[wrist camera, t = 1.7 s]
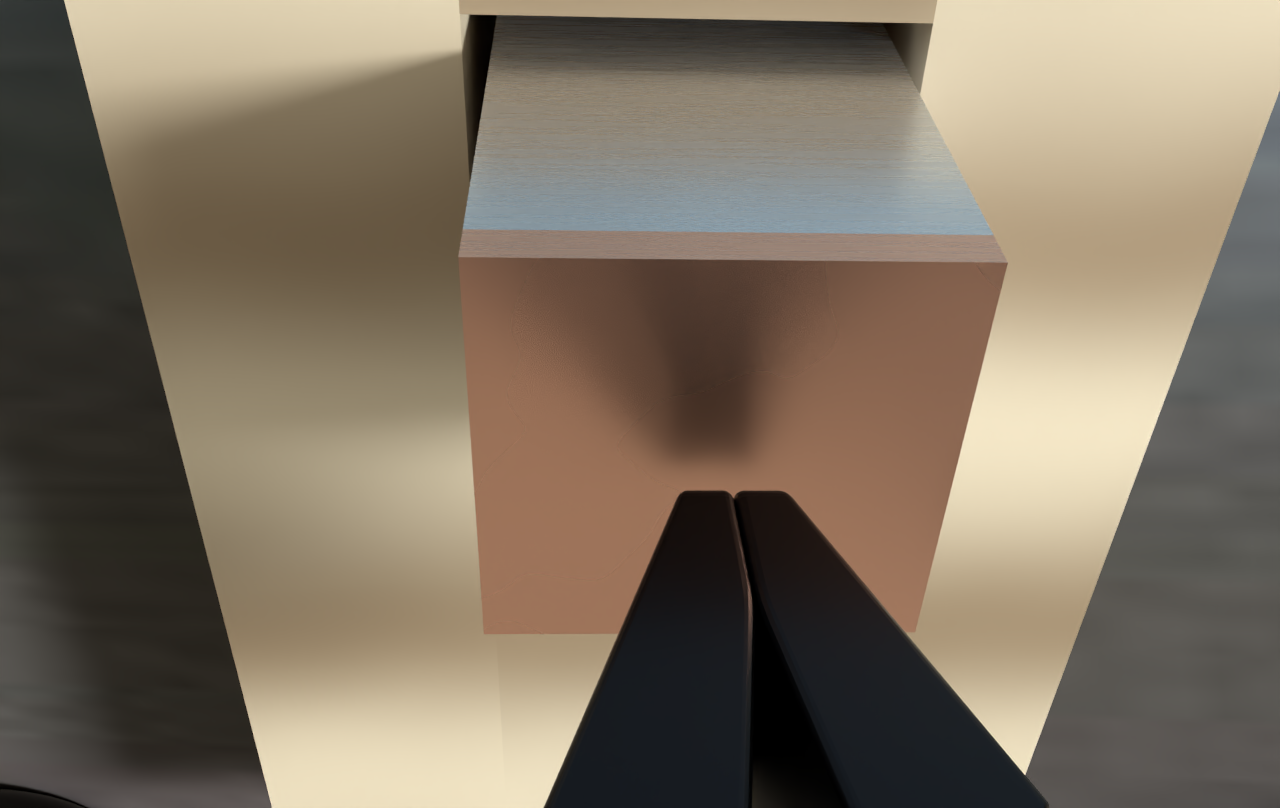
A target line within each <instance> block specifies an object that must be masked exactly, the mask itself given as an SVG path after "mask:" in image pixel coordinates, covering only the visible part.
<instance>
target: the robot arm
mask: <svg viewBox="0 0 1280 808" xmlns="http://www.w3.org/2000/svg"><path fill="white" fill-rule="evenodd" d="M544 808H1049V804H1048V802H1047V801H1046V800H1045V798H1044V797H1043V796H1042V795H1041V794H1040V792H1039V791H1038V790H1037V789H1036V788H1035V786H1034V785H1033V784H1032V783H1031V782H1030V781H1029V779H1028V778H1027V777H1026V776H1025V775H1024V773H1023V772H1022V771H1021V770H1020V769H1019V767H1018V766H1017V765H1016V764H1015V763H1014V761H1013V760H1012V759H1011V758H1010V757H1009V755H1008V754H1007V753H1006V752H1005V751H1004V749H1003V748H1002V747H1001V746H1000V745H999V743H998V742H997V741H996V740H995V739H994V738H993V736H992V735H991V734H990V733H989V732H988V730H987V729H986V728H985V727H984V726H983V724H982V723H981V722H980V721H979V720H978V718H977V717H976V716H975V715H974V714H973V712H972V711H971V710H970V709H969V708H968V706H967V705H966V704H965V703H964V702H963V701H962V699H961V698H960V697H959V696H958V695H957V693H956V692H955V691H954V690H953V689H952V687H951V686H950V685H949V684H948V683H947V681H946V680H945V679H944V678H943V677H942V675H941V674H940V673H939V672H938V671H937V669H936V668H935V667H934V666H933V665H932V664H931V662H930V661H929V660H928V659H927V658H926V656H925V655H924V654H923V653H922V652H921V650H920V649H919V648H918V647H917V646H916V644H915V643H914V642H913V641H912V640H911V638H910V637H909V636H908V635H907V634H906V632H905V631H904V630H903V629H902V628H901V627H900V625H899V624H898V623H897V622H896V621H895V619H894V618H893V617H892V616H891V615H890V613H889V612H888V611H887V610H886V609H885V607H884V606H883V605H882V604H881V603H880V601H879V600H878V599H877V598H876V597H875V595H874V594H873V593H872V592H871V591H870V590H869V588H868V587H867V586H866V585H865V584H864V582H863V581H862V580H861V579H860V578H859V576H858V575H857V574H856V573H855V572H854V570H853V569H852V568H851V567H850V566H849V564H848V563H847V562H846V561H845V560H844V558H843V557H842V556H841V555H840V554H839V553H838V551H837V550H836V549H835V548H834V547H833V545H832V544H831V543H830V542H829V541H828V539H827V538H826V537H825V536H824V535H823V533H822V532H821V531H820V530H819V529H818V527H817V526H816V525H815V524H814V523H813V521H812V520H811V519H810V518H809V517H808V516H807V514H806V513H805V512H804V511H803V510H802V508H801V507H800V506H799V505H798V504H797V502H796V501H795V500H794V499H793V498H792V497H791V496H790V495H789V494H788V493H786V492H784V491H740V492H738V493H737V494H736V495H735V496H734V498H733V497H732V495H731V494H730V493H729V492H727V491H723V490H687V491H683V492H682V493H680V494H679V496H678V497H677V499H676V501H675V503H674V506H673V508H672V510H671V513H670V515H669V517H668V520H667V522H666V524H665V527H664V529H663V531H662V534H661V536H660V538H659V540H658V543H657V545H656V547H655V550H654V552H653V554H652V557H651V559H650V561H649V564H648V566H647V568H646V571H645V573H644V575H643V578H642V580H641V582H640V585H639V587H638V589H637V592H636V594H635V596H634V599H633V601H632V603H631V606H630V608H629V610H628V613H627V615H626V617H625V620H624V622H623V624H622V627H621V629H620V631H619V634H618V636H617V638H616V641H615V643H614V645H613V647H612V650H611V652H610V654H609V657H608V659H607V661H606V664H605V666H604V668H603V671H602V673H601V675H600V678H599V680H598V682H597V685H596V687H595V689H594V692H593V694H592V696H591V699H590V701H589V703H588V706H587V708H586V710H585V713H584V715H583V717H582V720H581V722H580V724H579V727H578V729H577V731H576V734H575V736H574V738H573V741H572V743H571V745H570V748H569V750H568V752H567V754H566V757H565V759H564V761H563V764H562V766H561V768H560V771H559V773H558V775H557V778H556V780H555V782H554V785H553V787H552V789H551V792H550V794H549V796H548V799H547V801H546V803H545V806H544Z"/></svg>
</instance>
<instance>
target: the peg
mask: <svg viewBox="0 0 1280 808" xmlns="http://www.w3.org/2000/svg"><path fill="white" fill-rule="evenodd" d="M458 261H459V275H460V290H461V305H462V320H463V334H464V349H465V364H466V379H467V393H468V408H469V423H470V438H471V452H472V467H473V482H474V496H475V511H476V526H477V541H478V555H479V570H480V585H481V600H482V614H483V629H484V634H619V631H620V629H621V627H622V624H623V622H624V620H625V617H626V615H627V613H628V610H629V608H630V606H631V603H632V601H633V599H634V596H635V594H636V592H637V589H638V587H639V585H640V582H641V580H642V578H643V575H644V573H645V571H646V568H647V566H648V564H649V561H650V559H651V557H652V554H653V552H654V550H655V547H656V545H657V543H658V540H659V538H660V536H661V534H662V531H663V529H664V527H665V524H666V522H667V520H668V517H669V515H670V513H671V510H672V508H673V506H674V503H675V501H676V499H677V497H678V496H679V494H680V493H682V492H683V491H687V490H723V491H727V492H729V493H730V494H731V495H732V497H733V498H734V496H735V495H736V494H737V493H738V492H740V491H784V492H786V493H788V494H789V495H790V496H791V497H792V498H793V499H794V500H795V501H796V502H797V504H798V505H799V506H800V507H801V508H802V510H803V511H804V512H805V513H806V514H807V516H808V517H809V518H810V519H811V520H812V521H813V523H814V524H815V525H816V526H817V527H818V529H819V530H820V531H821V532H822V533H823V535H824V536H825V537H826V538H827V539H828V541H829V542H830V543H831V544H832V545H833V547H834V548H835V549H836V550H837V551H838V553H839V554H840V555H841V556H842V557H843V558H844V560H845V561H846V562H847V563H848V564H849V566H850V567H851V568H852V569H853V570H854V572H855V573H856V574H857V575H858V576H859V578H860V579H861V580H862V581H863V582H864V584H865V585H866V586H867V587H868V588H869V590H870V591H871V592H872V593H873V594H874V595H875V597H876V598H877V599H878V600H879V601H880V603H881V604H882V605H883V606H884V607H885V609H886V610H887V611H888V612H889V613H890V615H891V616H892V617H893V618H894V619H895V621H896V622H897V623H898V624H899V625H900V627H901V628H902V629H903V630H904V631H905V632H915V631H916V627H917V623H918V619H919V615H920V611H921V607H922V603H923V599H924V595H925V591H926V587H927V583H928V579H929V575H930V571H931V567H932V563H933V559H934V555H935V551H936V547H937V543H938V539H939V535H940V531H941V527H942V523H943V519H944V515H945V511H946V507H947V503H948V499H949V495H950V492H951V488H952V484H953V480H954V476H955V472H956V468H957V464H958V460H959V456H960V452H961V448H962V444H963V440H964V436H965V432H966V428H967V424H968V420H969V416H970V412H971V408H972V404H973V400H974V396H975V392H976V388H977V384H978V380H979V376H980V372H981V368H982V364H983V360H984V356H985V352H986V348H987V344H988V340H989V336H990V332H991V328H992V324H993V320H994V316H995V312H996V308H997V304H998V300H999V296H1000V292H1001V288H1002V284H1003V281H1004V277H1005V273H1006V269H1007V265H1008V262H1007V260H1006V258H1005V256H1004V254H1003V252H1002V250H1001V248H1000V246H999V244H998V243H997V241H996V239H995V237H994V235H993V233H992V231H991V229H990V227H989V225H988V224H987V222H986V220H985V218H984V216H983V214H982V212H981V210H980V208H979V206H978V204H977V203H976V201H975V199H974V197H973V195H972V193H971V191H970V189H969V187H968V185H967V183H966V182H965V180H964V178H963V176H962V174H961V172H960V170H959V168H958V166H957V164H956V162H955V161H954V159H953V157H952V155H951V153H950V151H949V149H948V147H947V145H946V143H945V141H944V140H943V138H942V136H941V134H940V132H939V130H938V128H937V126H936V124H935V122H934V121H933V119H932V117H931V115H930V113H929V111H928V109H927V107H926V105H925V103H924V101H923V100H922V98H921V96H920V94H919V92H918V90H917V88H916V86H915V84H914V82H913V80H912V79H911V77H910V75H909V73H908V71H907V69H906V67H905V65H904V63H903V61H902V59H901V58H900V56H899V54H898V52H897V50H896V48H895V46H894V44H893V42H892V40H891V39H890V37H889V35H888V33H887V31H886V29H885V27H884V25H883V23H882V22H834V21H782V20H730V19H678V18H627V17H575V16H523V15H497V19H496V25H495V32H494V38H493V44H492V50H491V57H490V63H489V69H488V75H487V81H486V88H485V94H484V100H483V106H482V113H481V119H480V125H479V131H478V137H477V144H476V150H475V156H474V162H473V169H472V175H471V181H470V187H469V193H468V200H467V206H466V212H465V218H464V225H463V231H462V237H461V243H460V249H459V256H458Z"/></svg>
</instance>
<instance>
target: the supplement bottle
mask: <svg viewBox="0 0 1280 808" xmlns="http://www.w3.org/2000/svg"><path fill="white" fill-rule="evenodd" d="M0 808H84V807H82V806H79V805H76V804H74V803H71V802H68V801H65V800H62V799H58V798H55V797H51V796H47V795H43V794H38V793H33V792H27V791H20V790H12V789H0Z"/></svg>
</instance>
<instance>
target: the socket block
mask: <svg viewBox="0 0 1280 808" xmlns="http://www.w3.org/2000/svg"><path fill="white" fill-rule="evenodd" d="M64 2H65V6H66V10H67V13H68V17H69V21H70V25H71V29H72V33H73V37H74V41H75V45H76V48H77V52H78V56H79V60H80V64H81V68H82V72H83V76H84V79H85V83H86V87H87V91H88V95H89V99H90V103H91V107H92V110H93V114H94V118H95V122H96V126H97V130H98V134H99V138H100V142H101V145H102V149H103V153H104V157H105V161H106V165H107V169H108V173H109V176H110V180H111V184H112V188H113V192H114V196H115V200H116V204H117V207H118V211H119V215H120V219H121V223H122V227H123V231H124V235H125V239H126V242H127V246H128V250H129V254H130V258H131V262H132V266H133V270H134V273H135V277H136V281H137V285H138V289H139V293H140V297H141V301H142V304H143V308H144V312H145V316H146V320H147V324H148V328H149V332H150V336H151V339H152V343H153V347H154V351H155V355H156V359H157V363H158V367H159V370H160V374H161V378H162V382H163V386H164V390H165V394H166V398H167V402H168V405H169V409H170V413H171V417H172V421H173V425H174V429H175V433H176V436H177V440H178V444H179V448H180V452H181V456H182V460H183V464H184V467H185V471H186V475H187V479H188V483H189V487H190V491H191V495H192V499H193V502H194V506H195V510H196V514H197V518H198V522H199V526H200V530H201V533H202V537H203V541H204V545H205V549H206V553H207V557H208V561H209V564H210V568H211V572H212V576H213V580H214V584H215V588H216V592H217V596H218V599H219V603H220V607H221V611H222V615H223V619H224V623H225V627H226V630H227V634H228V638H229V642H230V646H231V650H232V654H233V658H234V661H235V665H236V669H237V673H238V677H239V681H240V685H241V689H242V693H243V696H244V700H245V704H246V708H247V712H248V716H249V720H250V724H251V727H252V731H253V735H254V739H255V743H256V747H257V751H258V755H259V759H260V762H261V766H262V770H263V774H264V778H265V782H266V786H267V790H268V793H269V797H270V801H271V805H272V808H544V806H545V803H546V801H547V799H548V796H549V794H550V792H551V789H552V787H553V785H554V782H555V780H556V778H557V775H558V773H559V771H560V768H561V766H562V764H563V761H564V759H565V757H566V754H567V752H568V750H569V748H570V745H571V743H572V741H573V738H574V736H575V734H576V731H577V729H578V727H579V724H580V722H581V720H582V717H583V715H584V713H585V710H586V708H587V706H588V703H589V701H590V699H591V696H592V694H593V692H594V689H595V687H596V685H597V682H598V680H599V678H600V675H601V673H602V671H603V668H604V666H605V664H606V661H607V659H608V657H609V654H610V652H611V650H612V647H613V645H614V643H615V641H616V638H617V636H618V634H484V629H483V614H482V600H481V585H480V570H479V555H478V541H477V526H476V511H475V496H474V482H473V467H472V452H471V438H470V423H469V408H468V393H467V379H466V364H465V349H464V334H463V320H462V305H461V290H460V275H459V261H458V256H459V249H460V243H461V237H462V231H463V225H464V218H465V212H466V206H467V200H468V193H469V187H470V181H471V175H472V169H473V162H474V156H475V150H476V144H477V137H478V131H479V125H480V119H481V113H482V106H483V100H484V94H485V88H486V81H487V75H488V69H489V63H490V57H491V50H492V44H493V38H494V32H495V25H496V19H497V15H523V16H575V17H627V18H678V19H730V20H782V21H834V22H882V23H883V25H884V27H885V29H886V31H887V33H888V35H889V37H890V39H891V40H892V42H893V44H894V46H895V48H896V50H897V52H898V54H899V56H900V58H901V59H902V61H903V63H904V65H905V67H906V69H907V71H908V73H909V75H910V77H911V79H912V80H913V82H914V84H915V86H916V88H917V90H918V92H919V94H920V96H921V98H922V100H923V101H924V103H925V105H926V107H927V109H928V111H929V113H930V115H931V117H932V119H933V121H934V122H935V124H936V126H937V128H938V130H939V132H940V134H941V136H942V138H943V140H944V141H945V143H946V145H947V147H948V149H949V151H950V153H951V155H952V157H953V159H954V161H955V162H956V164H957V166H958V168H959V170H960V172H961V174H962V176H963V178H964V180H965V182H966V183H967V185H968V187H969V189H970V191H971V193H972V195H973V197H974V199H975V201H976V203H977V204H978V206H979V208H980V210H981V212H982V214H983V216H984V218H985V220H986V222H987V224H988V225H989V227H990V229H991V231H992V233H993V235H994V237H995V239H996V241H997V243H998V244H999V246H1000V248H1001V250H1002V252H1003V254H1004V256H1005V258H1006V260H1007V262H1008V265H1007V269H1006V273H1005V277H1004V281H1003V284H1002V288H1001V292H1000V296H999V300H998V304H997V308H996V312H995V316H994V320H993V324H992V328H991V332H990V336H989V340H988V344H987V348H986V352H985V356H984V360H983V364H982V368H981V372H980V376H979V380H978V384H977V388H976V392H975V396H974V400H973V404H972V408H971V412H970V416H969V420H968V424H967V428H966V432H965V436H964V440H963V444H962V448H961V452H960V456H959V460H958V464H957V468H956V472H955V476H954V480H953V484H952V488H951V492H950V495H949V499H948V503H947V507H946V511H945V515H944V519H943V523H942V527H941V531H940V535H939V539H938V543H937V547H936V551H935V555H934V559H933V563H932V567H931V571H930V575H929V579H928V583H927V587H926V591H925V595H924V599H923V603H922V607H921V611H920V615H919V619H918V623H917V627H916V631H915V632H906V634H907V635H908V636H909V637H910V638H911V640H912V641H913V642H914V643H915V644H916V646H917V647H918V648H919V649H920V650H921V652H922V653H923V654H924V655H925V656H926V658H927V659H928V660H929V661H930V662H931V664H932V665H933V666H934V667H935V668H936V669H937V671H938V672H939V673H940V674H941V675H942V677H943V678H944V679H945V680H946V681H947V683H948V684H949V685H950V686H951V687H952V689H953V690H954V691H955V692H956V693H957V695H958V696H959V697H960V698H961V699H962V701H963V702H964V703H965V704H966V705H967V706H968V708H969V709H970V710H971V711H972V712H973V714H974V715H975V716H976V717H977V718H978V720H979V721H980V722H981V723H982V724H983V726H984V727H985V728H986V729H987V730H988V732H989V733H990V734H991V735H992V736H993V738H994V739H995V740H996V741H997V742H998V743H999V745H1000V746H1001V747H1002V748H1003V749H1004V751H1005V752H1006V753H1007V754H1008V755H1009V757H1010V758H1011V759H1012V760H1013V761H1014V763H1015V764H1016V765H1017V766H1018V767H1019V769H1020V770H1021V771H1022V772H1023V773H1024V775H1025V774H1026V771H1027V768H1028V766H1029V763H1030V760H1031V758H1032V755H1033V752H1034V750H1035V747H1036V744H1037V742H1038V739H1039V736H1040V734H1041V731H1042V728H1043V725H1044V723H1045V720H1046V717H1047V715H1048V712H1049V709H1050V707H1051V704H1052V701H1053V699H1054V696H1055V693H1056V690H1057V688H1058V685H1059V682H1060V680H1061V677H1062V674H1063V672H1064V669H1065V666H1066V664H1067V661H1068V658H1069V655H1070V653H1071V650H1072V647H1073V645H1074V642H1075V639H1076V637H1077V634H1078V631H1079V629H1080V626H1081V623H1082V621H1083V618H1084V615H1085V612H1086V610H1087V607H1088V604H1089V602H1090V599H1091V596H1092V594H1093V591H1094V588H1095V586H1096V583H1097V580H1098V577H1099V575H1100V572H1101V569H1102V567H1103V564H1104V561H1105V559H1106V556H1107V553H1108V551H1109V548H1110V545H1111V543H1112V540H1113V537H1114V534H1115V532H1116V529H1117V526H1118V524H1119V521H1120V518H1121V516H1122V513H1123V510H1124V508H1125V505H1126V502H1127V499H1128V497H1129V494H1130V491H1131V489H1132V486H1133V483H1134V481H1135V478H1136V475H1137V473H1138V470H1139V467H1140V465H1141V462H1142V459H1143V456H1144V454H1145V451H1146V448H1147V446H1148V443H1149V440H1150V438H1151V435H1152V432H1153V430H1154V427H1155V424H1156V421H1157V419H1158V416H1159V413H1160V411H1161V408H1162V405H1163V403H1164V400H1165V397H1166V395H1167V392H1168V389H1169V386H1170V384H1171V381H1172V378H1173V376H1174V373H1175V370H1176V368H1177V365H1178V362H1179V360H1180V357H1181V354H1182V352H1183V349H1184V346H1185V343H1186V341H1187V338H1188V335H1189V333H1190V330H1191V327H1192V325H1193V322H1194V319H1195V317H1196V314H1197V311H1198V308H1199V306H1200V303H1201V300H1202V298H1203V295H1204V292H1205V290H1206V287H1207V284H1208V282H1209V279H1210V276H1211V274H1212V271H1213V268H1214V265H1215V263H1216V260H1217V257H1218V255H1219V252H1220V249H1221V247H1222V244H1223V241H1224V239H1225V236H1226V233H1227V230H1228V228H1229V225H1230V222H1231V220H1232V217H1233V214H1234V212H1235V209H1236V206H1237V204H1238V201H1239V198H1240V195H1241V193H1242V190H1243V187H1244V185H1245V182H1246V179H1247V177H1248V174H1249V171H1250V169H1251V166H1252V163H1253V161H1254V158H1255V155H1256V152H1257V150H1258V147H1259V144H1260V142H1261V139H1262V136H1263V134H1264V131H1265V128H1266V126H1267V123H1268V120H1269V117H1270V115H1271V112H1272V109H1273V107H1274V104H1275V101H1276V99H1277V96H1278V93H1279V91H1280V0H64Z"/></svg>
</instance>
